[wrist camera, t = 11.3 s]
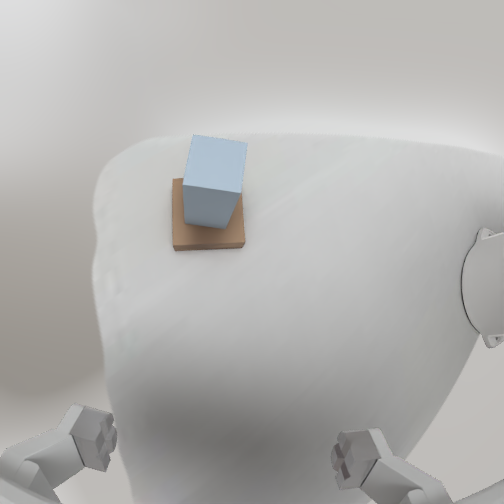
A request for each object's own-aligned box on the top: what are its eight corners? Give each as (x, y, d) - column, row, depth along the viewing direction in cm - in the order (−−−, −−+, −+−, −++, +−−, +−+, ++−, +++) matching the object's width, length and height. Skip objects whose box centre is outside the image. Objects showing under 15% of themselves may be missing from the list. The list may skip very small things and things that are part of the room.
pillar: (230, 191, 32) (247, 143, 22) (225, 229, 31) (241, 193, 21) (191, 185, 31) (193, 134, 21) (184, 223, 30) (182, 184, 20)
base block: (237, 187, 35) (240, 176, 32) (241, 248, 34) (245, 242, 31) (174, 190, 34) (172, 178, 31) (175, 251, 33) (172, 245, 30)
